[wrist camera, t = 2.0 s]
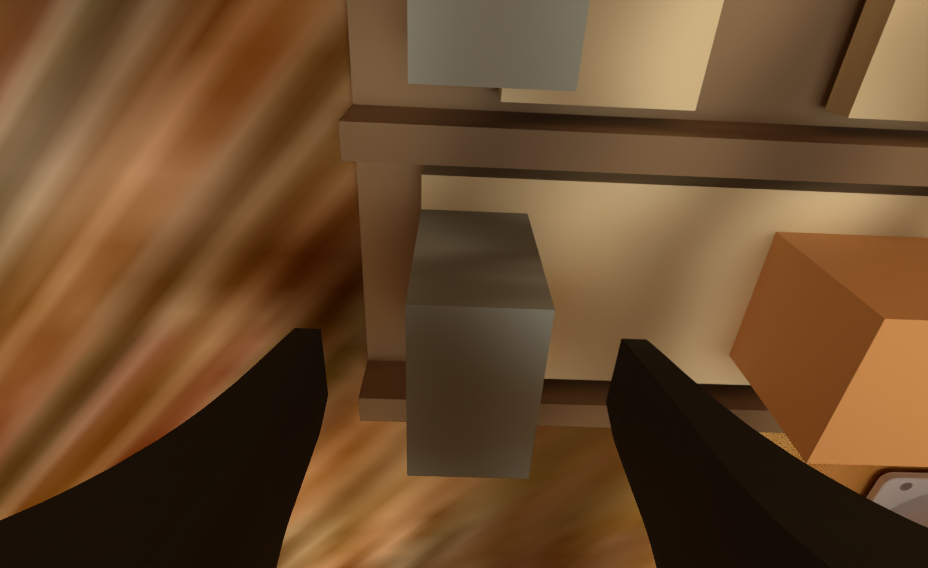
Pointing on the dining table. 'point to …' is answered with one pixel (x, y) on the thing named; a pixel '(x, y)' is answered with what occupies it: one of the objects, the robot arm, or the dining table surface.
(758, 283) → the orange cube
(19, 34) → the dining table surface
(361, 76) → the lane board
